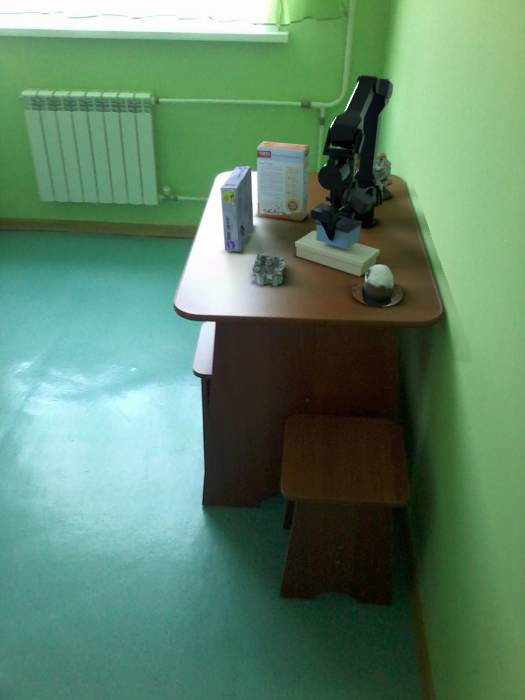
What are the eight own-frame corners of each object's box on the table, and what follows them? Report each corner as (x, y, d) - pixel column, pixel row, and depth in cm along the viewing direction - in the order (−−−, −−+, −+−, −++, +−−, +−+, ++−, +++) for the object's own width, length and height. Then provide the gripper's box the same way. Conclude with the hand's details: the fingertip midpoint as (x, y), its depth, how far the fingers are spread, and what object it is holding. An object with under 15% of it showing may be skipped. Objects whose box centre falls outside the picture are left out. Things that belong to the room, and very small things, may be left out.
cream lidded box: (313, 243, 170) (313, 230, 168) (378, 263, 160) (380, 249, 158) (294, 255, 164) (295, 241, 162) (361, 277, 154) (362, 262, 152)
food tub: (328, 231, 163) (330, 212, 161) (360, 240, 159) (362, 221, 156) (315, 240, 159) (315, 221, 156) (346, 249, 154) (348, 230, 151)
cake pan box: (238, 223, 181) (236, 163, 171) (255, 224, 180) (254, 164, 170) (222, 252, 166) (219, 188, 156) (240, 253, 165) (239, 189, 155)
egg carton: (282, 287, 150) (282, 272, 148) (251, 285, 151) (251, 270, 149) (285, 266, 159) (286, 252, 157) (256, 265, 160) (256, 250, 157)
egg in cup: (346, 276, 152) (377, 248, 148) (374, 302, 156) (406, 276, 151) (348, 299, 142) (382, 270, 138) (378, 327, 146) (413, 299, 141)
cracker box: (307, 214, 186) (310, 144, 174) (302, 222, 182) (304, 150, 170) (263, 208, 190) (263, 139, 178) (256, 216, 185) (256, 145, 173)
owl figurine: (333, 200, 196) (337, 145, 186) (334, 187, 205) (338, 134, 195) (391, 202, 194) (398, 147, 184) (389, 189, 203) (396, 136, 194)
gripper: (352, 195, 139) (346, 257, 148) (390, 172, 151) (383, 231, 160) (310, 184, 145) (307, 245, 154) (350, 163, 157) (345, 221, 166)
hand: (337, 235), depth 158 cm, fingers closed on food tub, 6 cm apart
